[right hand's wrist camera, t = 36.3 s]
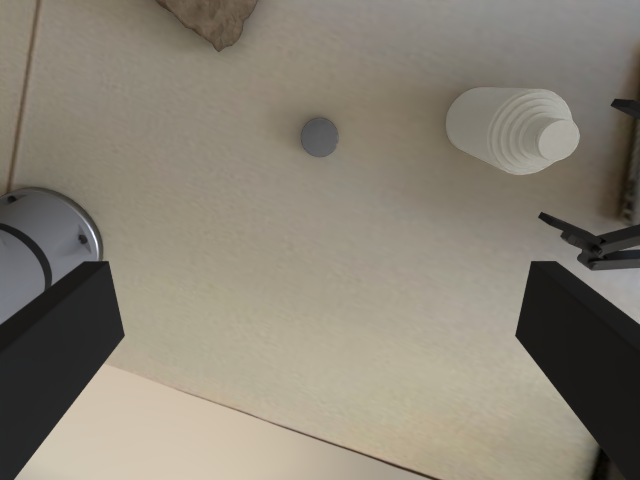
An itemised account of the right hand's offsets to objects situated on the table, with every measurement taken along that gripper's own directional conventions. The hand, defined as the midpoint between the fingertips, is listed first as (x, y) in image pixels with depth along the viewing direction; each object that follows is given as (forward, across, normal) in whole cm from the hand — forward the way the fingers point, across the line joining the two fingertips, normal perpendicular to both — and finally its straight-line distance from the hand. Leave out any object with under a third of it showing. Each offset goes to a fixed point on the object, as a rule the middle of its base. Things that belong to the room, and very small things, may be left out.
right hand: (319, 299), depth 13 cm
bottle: (+41, +20, +2) cm, 45 cm away
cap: (+39, 0, 0) cm, 39 cm away
